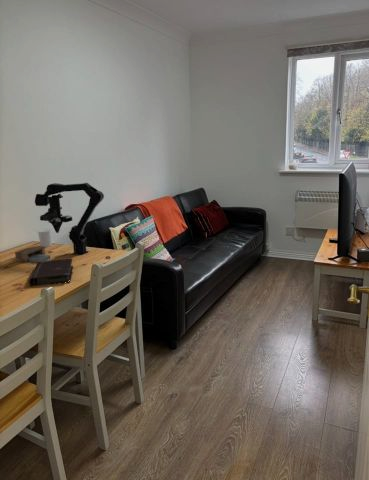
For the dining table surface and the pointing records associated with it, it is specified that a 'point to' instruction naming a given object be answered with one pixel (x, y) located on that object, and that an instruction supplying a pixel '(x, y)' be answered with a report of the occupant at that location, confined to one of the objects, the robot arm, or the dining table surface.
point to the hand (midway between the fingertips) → (57, 232)
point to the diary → (52, 272)
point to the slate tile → (38, 257)
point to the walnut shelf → (23, 254)
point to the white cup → (45, 237)
